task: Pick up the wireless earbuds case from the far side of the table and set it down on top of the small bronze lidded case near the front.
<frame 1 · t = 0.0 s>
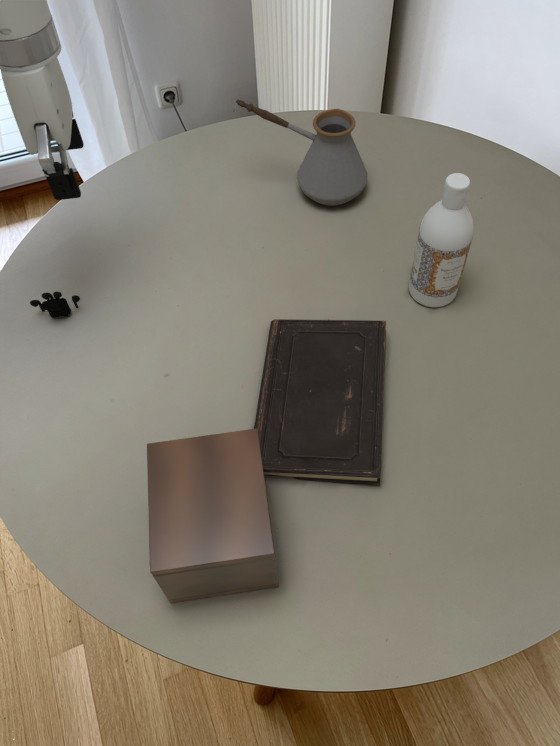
hand: (70, 171, 83), 19 cm above the table, tool pointing down, fingers open, 9 cm apart
coffee pot: (302, 187, 109), on the table
wireless earbuds: (61, 318, 95), on the table
bronze lidded case: (219, 534, 75), on the table
hardcover book: (321, 400, 85), on the table, touching bronze lidded case
bath foam: (431, 291, 95), on the table
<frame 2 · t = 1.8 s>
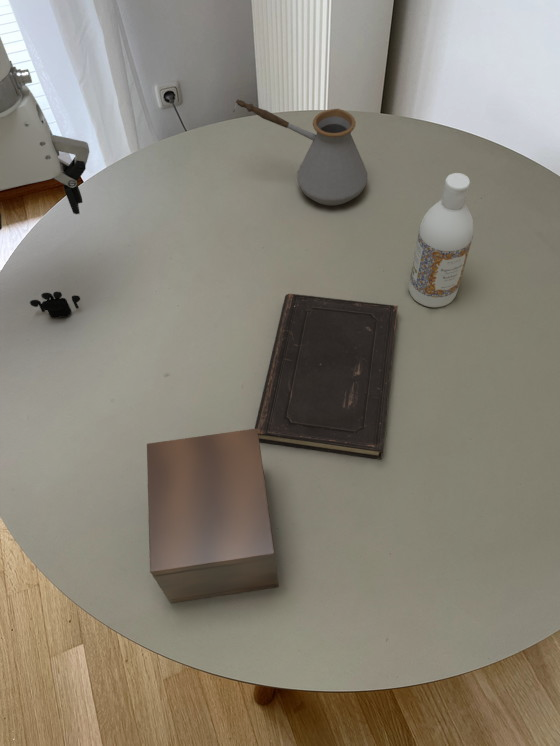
hand: (37, 215, 82), 17 cm above the table, tool pointing down, fingers open, 9 cm apart
hardcover book: (329, 375, 87), on the table
everything else where it was.
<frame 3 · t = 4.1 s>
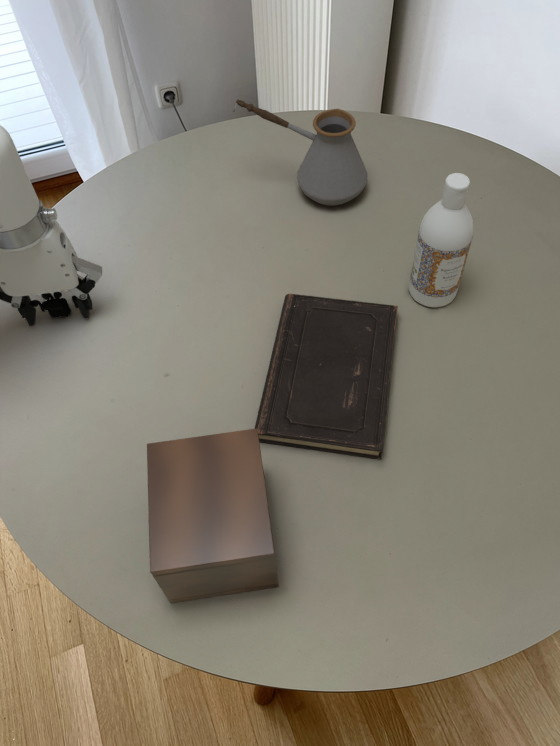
hand: (59, 314, 94), 1 cm above the table, tool pointing down, fingers closed on wireless earbuds, 7 cm apart
wireless earbuds: (61, 318, 95), on the table, touching gripper
everything else where it was.
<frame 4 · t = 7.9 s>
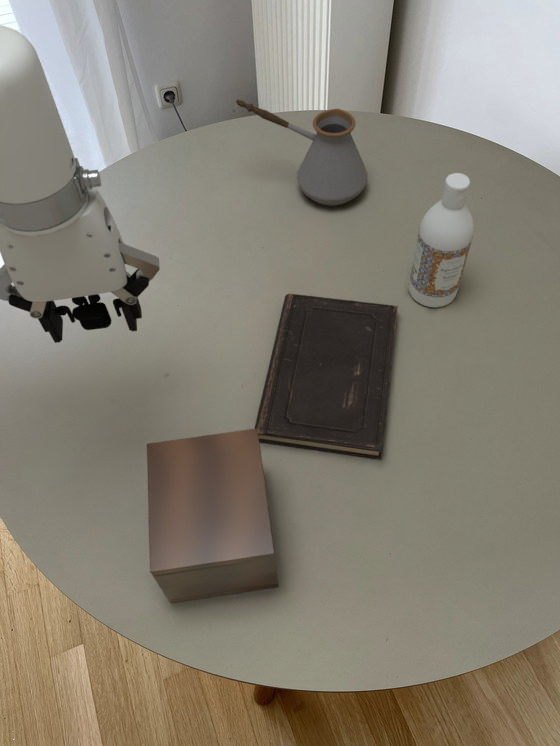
hand: (96, 325, 68), 20 cm above the table, tool pointing down, fingers closed on wireless earbuds, 7 cm apart
wireless earbuds: (98, 331, 69), point 19 cm above the table, touching gripper
everything else where it was.
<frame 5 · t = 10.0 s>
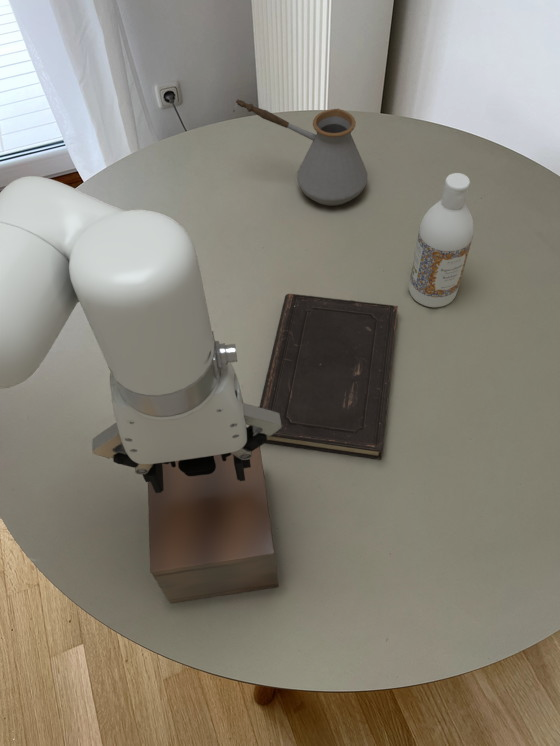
hand: (199, 472, 62), 16 cm above the table, tool pointing down, fingers closed on wireless earbuds, 7 cm apart
wireless earbuds: (200, 476, 63), point 15 cm above the table, touching gripper
everything else where it was.
when the fingers open (12 cm above the table, at t = 11.7 s): wireless earbuds stays where it is, resting on bronze lidded case.
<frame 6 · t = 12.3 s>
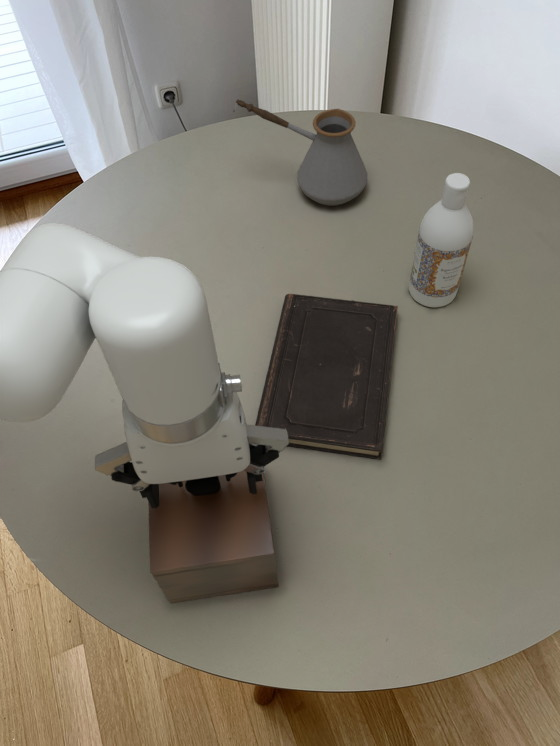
hand: (204, 487, 65), 13 cm above the table, tool pointing down, fingers open, 9 cm apart
wireless earbuds: (206, 495, 66), point 11 cm above the table, touching bronze lidded case
everything else where it was.
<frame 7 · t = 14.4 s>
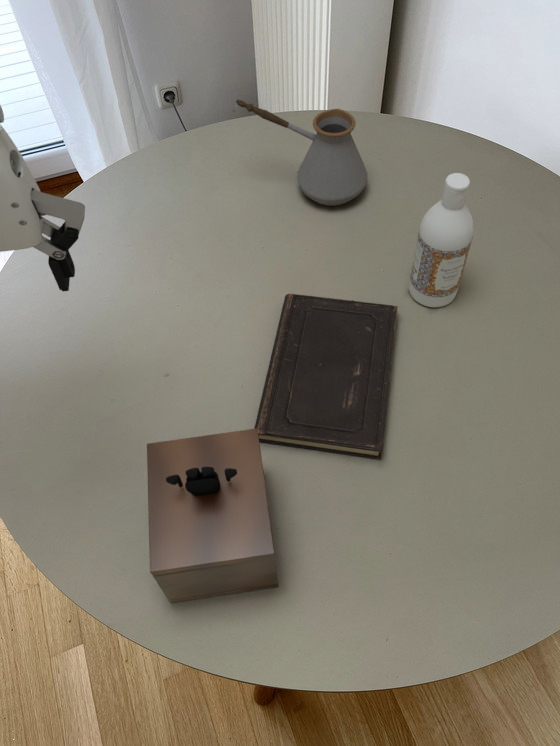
hand: (14, 285, 61), 28 cm above the table, tool pointing down, fingers open, 9 cm apart
nothing on the table moved.
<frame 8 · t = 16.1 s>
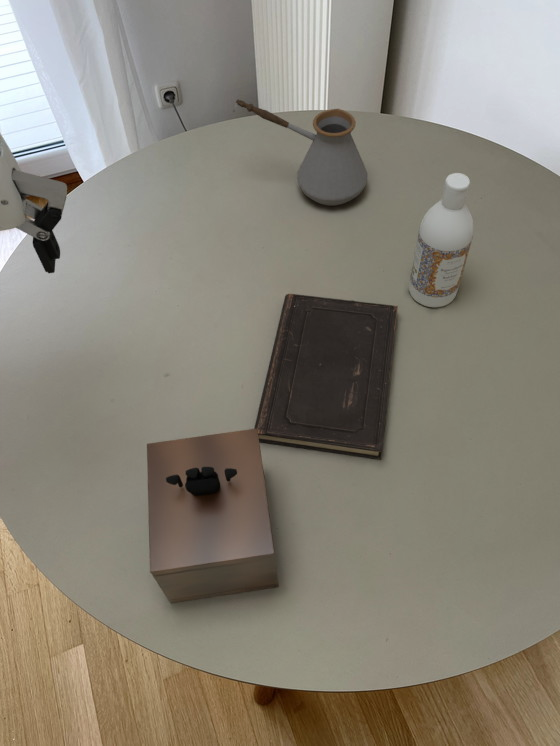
hand: (0, 268, 61), 28 cm above the table, tool pointing down, fingers open, 9 cm apart
nothing on the table moved.
at the end: wireless earbuds inside the target area on the bronze lidded case (0.1 cm from its centre), point 10.8 cm above the bronze lidded case's base; wireless earbuds tilted 0°; the gripper is holding nothing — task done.
